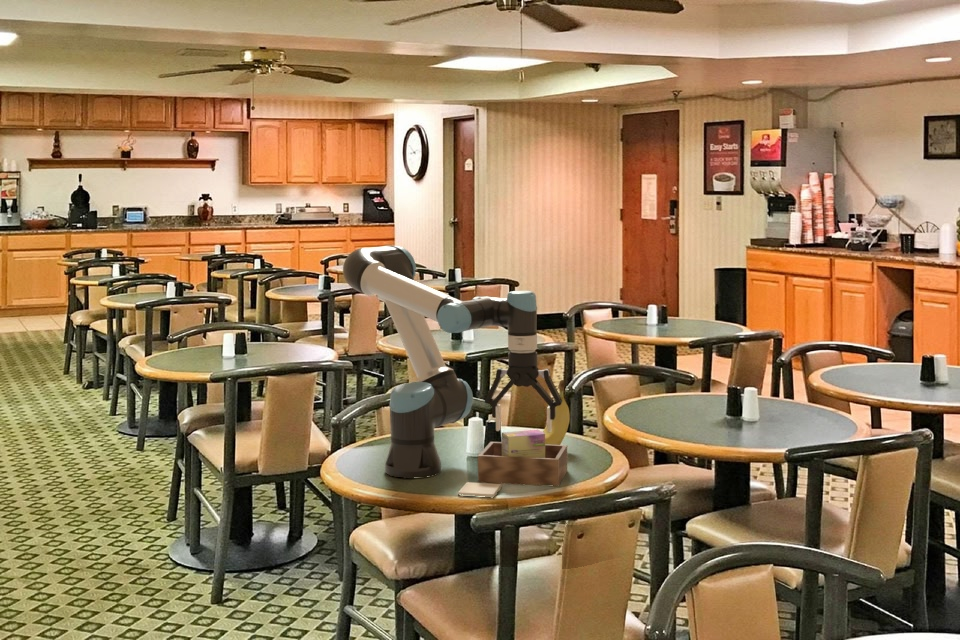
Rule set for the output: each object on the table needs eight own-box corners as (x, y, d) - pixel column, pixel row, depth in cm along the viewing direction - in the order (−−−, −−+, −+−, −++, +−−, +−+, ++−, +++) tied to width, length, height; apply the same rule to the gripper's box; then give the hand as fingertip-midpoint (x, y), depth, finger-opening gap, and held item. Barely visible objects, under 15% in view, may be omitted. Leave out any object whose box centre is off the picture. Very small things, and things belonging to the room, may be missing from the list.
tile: (458, 496, 266) (458, 492, 266) (466, 485, 275) (466, 482, 275) (493, 498, 264) (493, 494, 264) (501, 487, 273) (501, 484, 273)
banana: (534, 465, 294) (533, 393, 291) (516, 462, 297) (515, 391, 294) (574, 447, 312) (574, 379, 310) (556, 444, 316) (556, 378, 313)
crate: (478, 482, 278) (477, 455, 277) (490, 466, 293) (490, 441, 292) (558, 486, 273) (558, 459, 273) (567, 470, 288) (567, 445, 287)
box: (537, 471, 287) (537, 428, 286) (545, 477, 282) (545, 433, 280) (501, 475, 284) (500, 432, 283) (508, 481, 279) (508, 436, 277)
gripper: (472, 352, 278) (474, 432, 281) (568, 353, 272) (568, 435, 275) (479, 347, 285) (480, 425, 288) (572, 349, 279) (573, 429, 282)
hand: (523, 430), depth 281 cm, fingers open, 13 cm apart
